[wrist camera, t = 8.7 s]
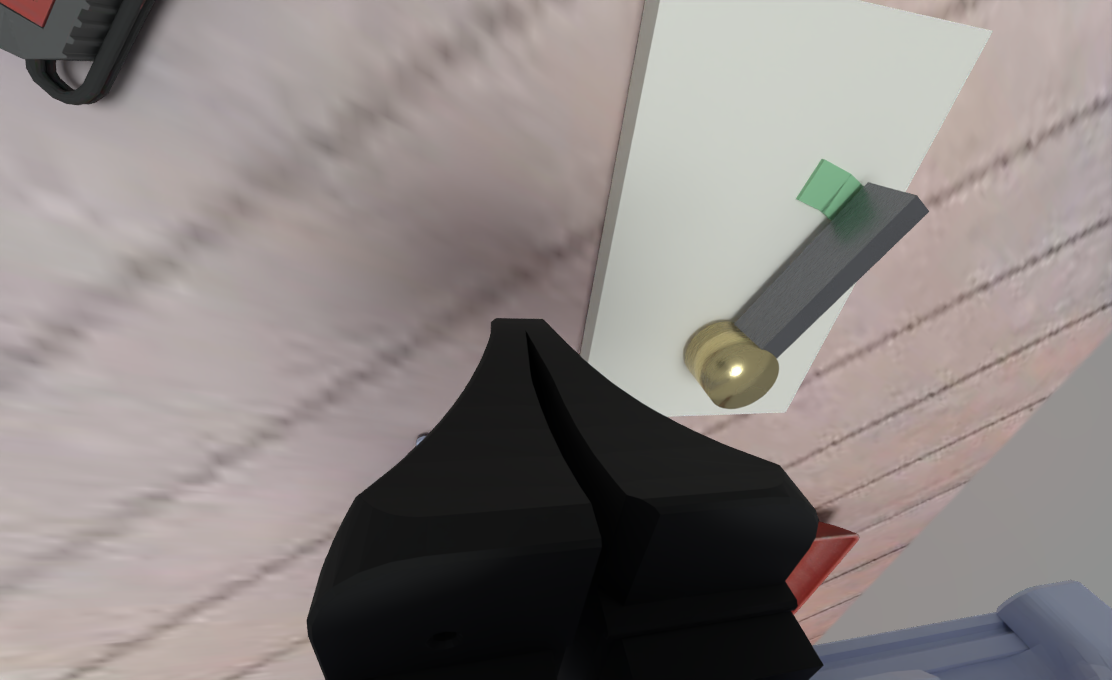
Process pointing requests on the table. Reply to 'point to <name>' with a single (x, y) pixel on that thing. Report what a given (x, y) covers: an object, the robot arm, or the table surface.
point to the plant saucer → (820, 560)
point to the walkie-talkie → (72, 40)
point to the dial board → (752, 169)
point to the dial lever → (799, 297)
